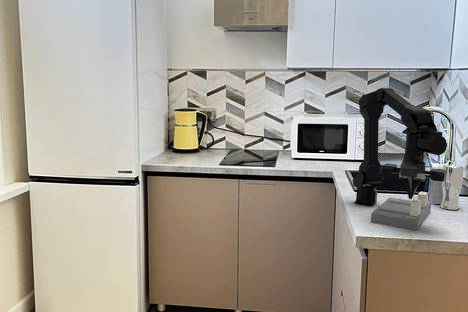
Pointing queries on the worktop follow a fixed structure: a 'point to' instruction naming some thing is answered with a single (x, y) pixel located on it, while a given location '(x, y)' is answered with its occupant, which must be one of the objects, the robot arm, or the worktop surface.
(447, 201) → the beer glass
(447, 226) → the worktop surface
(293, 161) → the worktop surface
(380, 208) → the switch panel
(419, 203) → the off-white switch lever
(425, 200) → the off-white block
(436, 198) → the light bulb box
